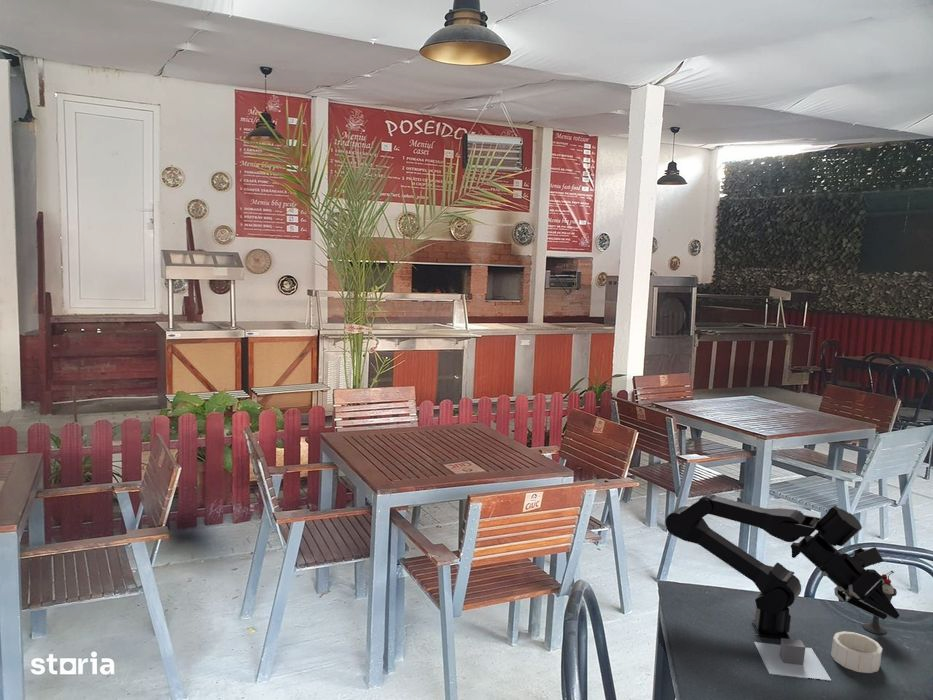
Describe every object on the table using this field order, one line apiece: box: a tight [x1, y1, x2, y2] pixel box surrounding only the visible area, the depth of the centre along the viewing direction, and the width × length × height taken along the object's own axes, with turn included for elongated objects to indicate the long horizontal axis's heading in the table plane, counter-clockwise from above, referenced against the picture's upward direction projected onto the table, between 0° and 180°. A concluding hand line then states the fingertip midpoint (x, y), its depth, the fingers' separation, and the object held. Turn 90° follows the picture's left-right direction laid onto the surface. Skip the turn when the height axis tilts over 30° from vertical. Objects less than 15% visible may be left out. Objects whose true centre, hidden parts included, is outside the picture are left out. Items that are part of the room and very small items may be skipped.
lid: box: [754, 638, 832, 682], centre depth 154 cm, size 12×12×5 cm
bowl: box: [830, 630, 883, 674], centre depth 156 cm, size 9×9×4 cm
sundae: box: [861, 570, 898, 636], centre depth 168 cm, size 7×7×15 cm
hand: (891, 617), depth 151 cm, fingers open, 9 cm apart
